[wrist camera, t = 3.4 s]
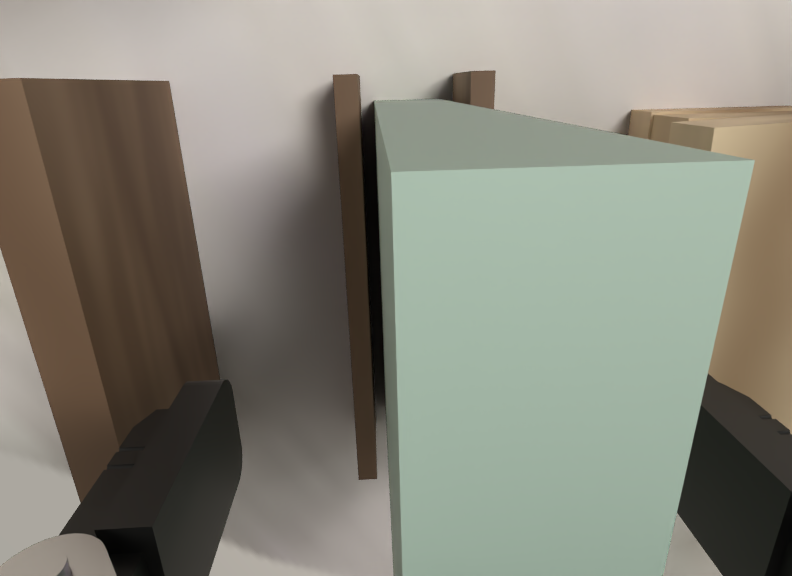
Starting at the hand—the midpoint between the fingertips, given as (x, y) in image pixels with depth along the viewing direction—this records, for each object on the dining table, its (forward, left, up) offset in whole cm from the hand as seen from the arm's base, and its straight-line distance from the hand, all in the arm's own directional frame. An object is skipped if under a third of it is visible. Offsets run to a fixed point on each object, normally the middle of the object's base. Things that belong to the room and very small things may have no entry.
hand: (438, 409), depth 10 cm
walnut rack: (+3, 0, -8) cm, 9 cm away
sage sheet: (0, 0, -8) cm, 8 cm away
